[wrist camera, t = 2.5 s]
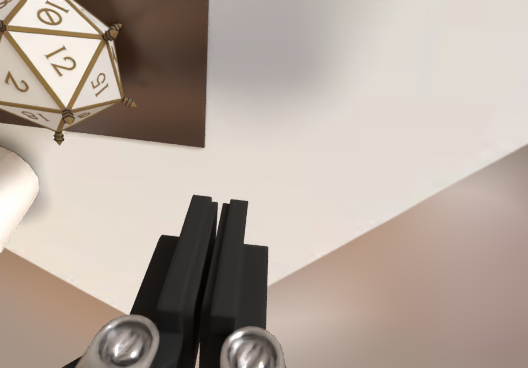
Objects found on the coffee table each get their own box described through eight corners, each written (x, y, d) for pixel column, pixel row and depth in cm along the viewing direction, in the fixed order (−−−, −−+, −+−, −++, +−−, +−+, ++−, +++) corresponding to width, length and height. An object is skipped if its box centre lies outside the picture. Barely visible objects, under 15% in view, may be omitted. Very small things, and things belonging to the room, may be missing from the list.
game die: (92, 48, 27) (-43, 121, 22) (49, -82, 20) (-164, -18, 15) (180, 108, 25) (53, 204, 20) (167, -14, 18) (-36, 87, 13)
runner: (-252, -136, 18) (-254, -136, 18) (210, -67, 19) (210, -67, 19) (-119, 107, 26) (-120, 107, 26) (204, 147, 27) (204, 147, 27)
